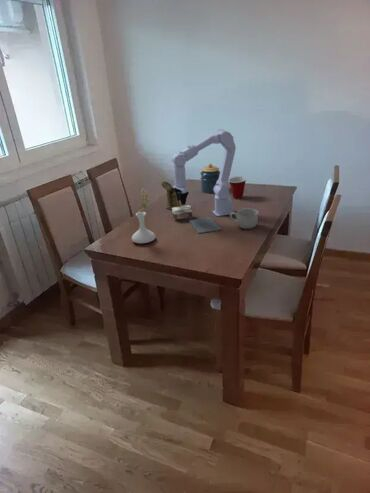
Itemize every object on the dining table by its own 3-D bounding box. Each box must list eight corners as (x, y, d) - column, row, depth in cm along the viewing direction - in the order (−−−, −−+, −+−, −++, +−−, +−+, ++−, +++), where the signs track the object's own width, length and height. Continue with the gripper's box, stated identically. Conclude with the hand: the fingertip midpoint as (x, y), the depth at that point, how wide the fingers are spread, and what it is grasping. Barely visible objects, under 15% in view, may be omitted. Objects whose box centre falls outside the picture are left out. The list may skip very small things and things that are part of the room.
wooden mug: (159, 211, 210) (156, 181, 202) (169, 203, 221) (167, 174, 213) (173, 213, 207) (171, 182, 199) (183, 205, 218) (181, 175, 210)
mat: (188, 221, 195) (188, 219, 194) (210, 217, 197) (210, 216, 197) (198, 233, 179) (198, 232, 179) (221, 230, 181) (221, 229, 181)
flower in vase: (146, 247, 168) (140, 195, 157) (127, 243, 174) (120, 192, 163) (162, 236, 178) (157, 187, 167) (143, 232, 184) (138, 184, 173)
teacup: (259, 223, 186) (260, 208, 183) (256, 232, 177) (256, 216, 174) (232, 221, 191) (232, 207, 187) (228, 229, 182) (227, 214, 178)
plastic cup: (225, 197, 227) (225, 178, 222) (240, 193, 231) (240, 175, 226) (234, 201, 218) (234, 182, 213) (249, 198, 222) (250, 179, 217)
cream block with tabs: (190, 215, 202) (189, 205, 199) (192, 218, 197) (192, 208, 195) (172, 218, 200) (171, 207, 197) (174, 221, 195) (174, 210, 193)
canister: (199, 193, 236) (198, 166, 228) (202, 187, 248) (201, 161, 240) (220, 193, 234) (219, 166, 226) (221, 187, 245) (221, 161, 238)
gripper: (169, 175, 194) (171, 199, 200) (175, 181, 181) (177, 207, 187) (182, 173, 196) (183, 197, 202) (189, 180, 183) (190, 205, 189)
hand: (181, 202), depth 195 cm, fingers open, 7 cm apart
